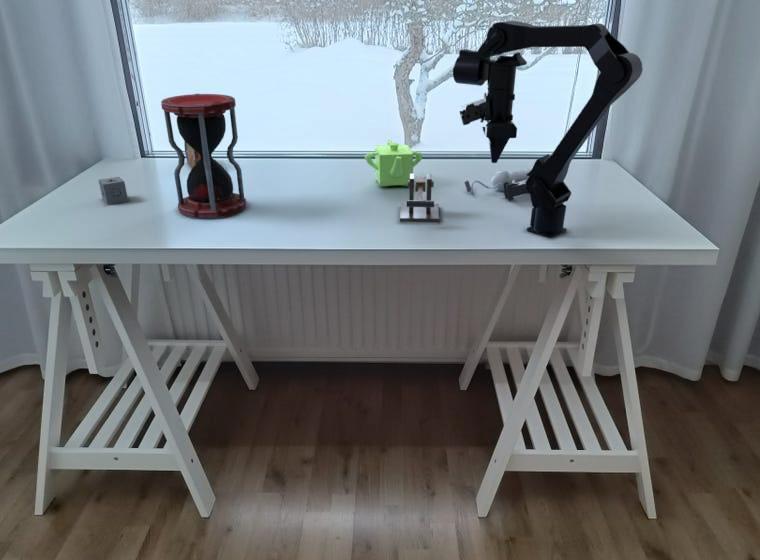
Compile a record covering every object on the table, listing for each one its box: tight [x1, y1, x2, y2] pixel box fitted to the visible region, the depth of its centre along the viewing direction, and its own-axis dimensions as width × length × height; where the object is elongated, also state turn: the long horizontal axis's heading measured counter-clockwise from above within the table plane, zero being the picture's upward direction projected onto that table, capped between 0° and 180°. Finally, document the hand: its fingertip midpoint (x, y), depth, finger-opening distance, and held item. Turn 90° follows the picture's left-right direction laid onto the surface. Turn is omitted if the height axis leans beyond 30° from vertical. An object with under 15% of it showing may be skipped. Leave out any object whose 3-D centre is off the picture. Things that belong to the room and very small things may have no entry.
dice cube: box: [98, 176, 129, 206], centre depth 164 cm, size 5×5×5 cm
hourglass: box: [160, 93, 247, 219], centre depth 153 cm, size 16×16×25 cm
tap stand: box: [399, 173, 440, 223], centre depth 153 cm, size 11×9×9 cm
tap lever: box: [406, 176, 435, 207], centre depth 148 cm, size 11×6×2 cm, turn 177°
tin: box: [183, 140, 200, 169], centre depth 191 cm, size 15×3×8 cm, turn 25°
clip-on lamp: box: [464, 168, 532, 202], centre depth 169 cm, size 12×6×18 cm
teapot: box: [364, 139, 423, 188], centre depth 175 cm, size 15×13×11 cm
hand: (493, 162), depth 147 cm, fingers closed
